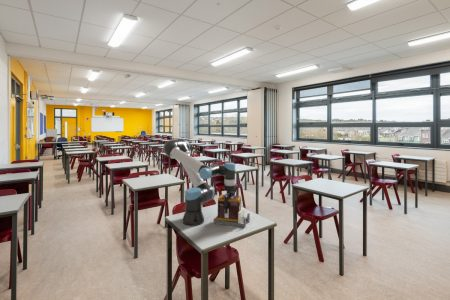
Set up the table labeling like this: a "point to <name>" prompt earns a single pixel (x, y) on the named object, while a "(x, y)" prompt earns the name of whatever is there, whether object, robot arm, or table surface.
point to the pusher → (241, 216)
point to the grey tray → (233, 222)
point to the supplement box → (233, 208)
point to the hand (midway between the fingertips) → (229, 214)
